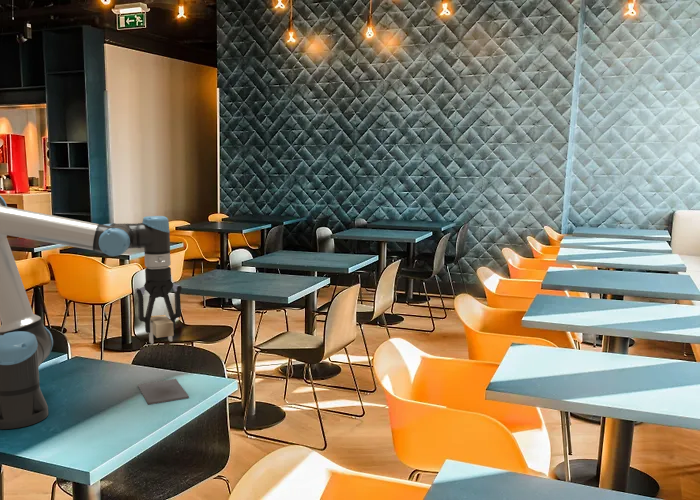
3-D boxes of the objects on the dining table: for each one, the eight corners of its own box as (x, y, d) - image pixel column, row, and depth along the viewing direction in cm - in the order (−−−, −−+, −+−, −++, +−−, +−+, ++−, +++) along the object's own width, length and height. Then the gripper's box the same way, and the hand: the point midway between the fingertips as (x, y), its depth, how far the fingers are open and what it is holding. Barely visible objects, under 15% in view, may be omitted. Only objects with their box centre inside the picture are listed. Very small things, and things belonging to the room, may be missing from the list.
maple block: (173, 335, 191) (165, 327, 201) (173, 322, 190) (165, 314, 201) (156, 337, 188) (149, 328, 199) (156, 324, 188) (148, 316, 199)
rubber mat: (148, 404, 188) (148, 402, 188) (137, 386, 203) (137, 384, 203) (188, 398, 193) (188, 396, 193) (175, 380, 209) (175, 378, 209)
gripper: (128, 271, 186) (132, 348, 189) (190, 266, 194) (193, 340, 197) (124, 267, 192) (128, 342, 195) (184, 263, 201) (187, 335, 204)
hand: (160, 341), depth 196 cm, fingers closed on maple block, 5 cm apart
